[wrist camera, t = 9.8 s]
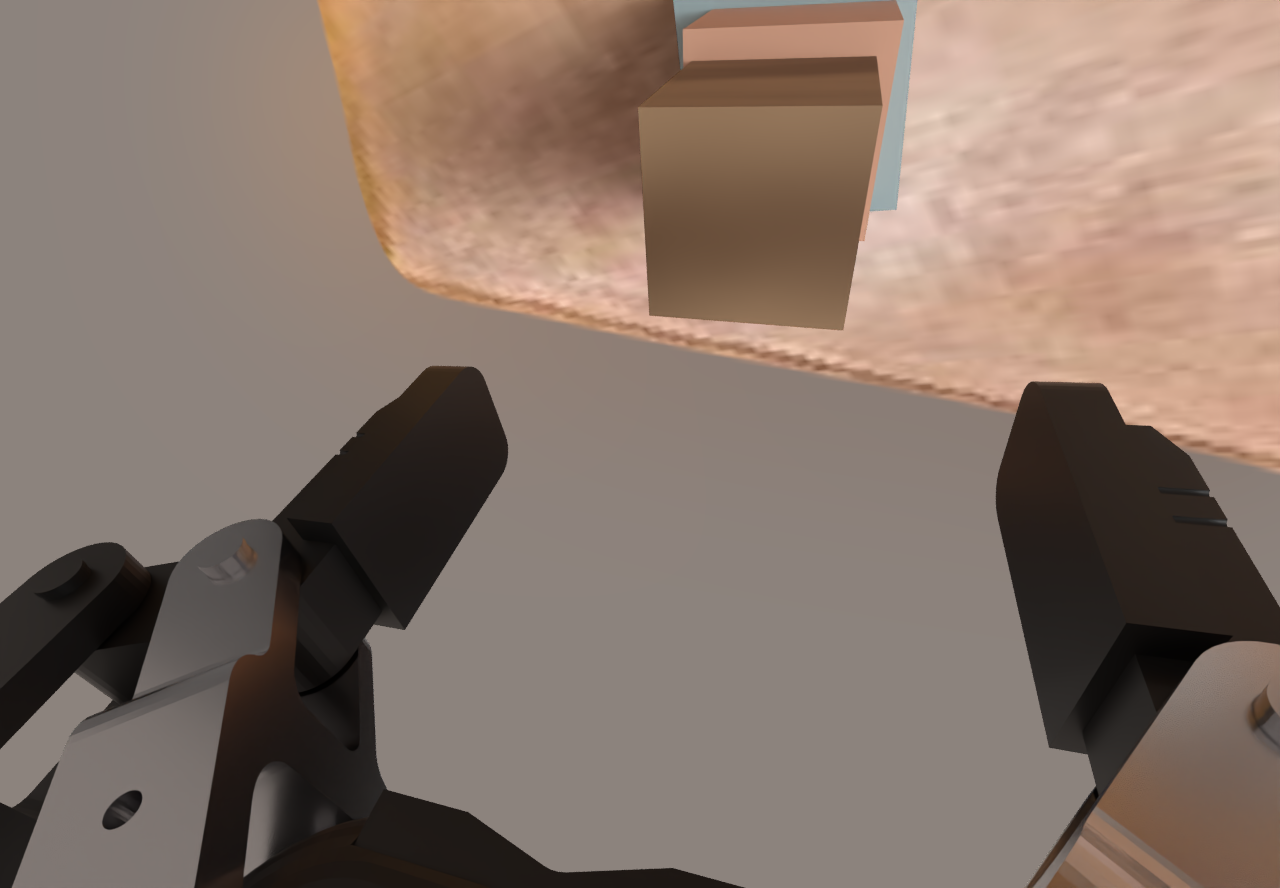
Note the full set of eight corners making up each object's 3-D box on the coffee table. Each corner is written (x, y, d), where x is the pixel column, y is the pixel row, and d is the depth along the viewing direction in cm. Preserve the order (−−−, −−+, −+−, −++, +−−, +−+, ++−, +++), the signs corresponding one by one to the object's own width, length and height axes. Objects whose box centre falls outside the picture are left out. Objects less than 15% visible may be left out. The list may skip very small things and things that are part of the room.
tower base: (694, -14, 24) (672, -4, 21) (913, -56, 22) (922, -51, 19) (712, 192, 29) (696, 223, 26) (892, 177, 27) (896, 209, 24)
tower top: (712, 9, 21) (682, 29, 18) (895, 0, 20) (904, 20, 16) (710, 186, 25) (685, 233, 21) (863, 190, 24) (864, 241, 20)
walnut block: (691, 60, 18) (637, 107, 14) (876, 56, 17) (882, 105, 12) (692, 233, 21) (649, 315, 17) (846, 240, 20) (843, 330, 16)
